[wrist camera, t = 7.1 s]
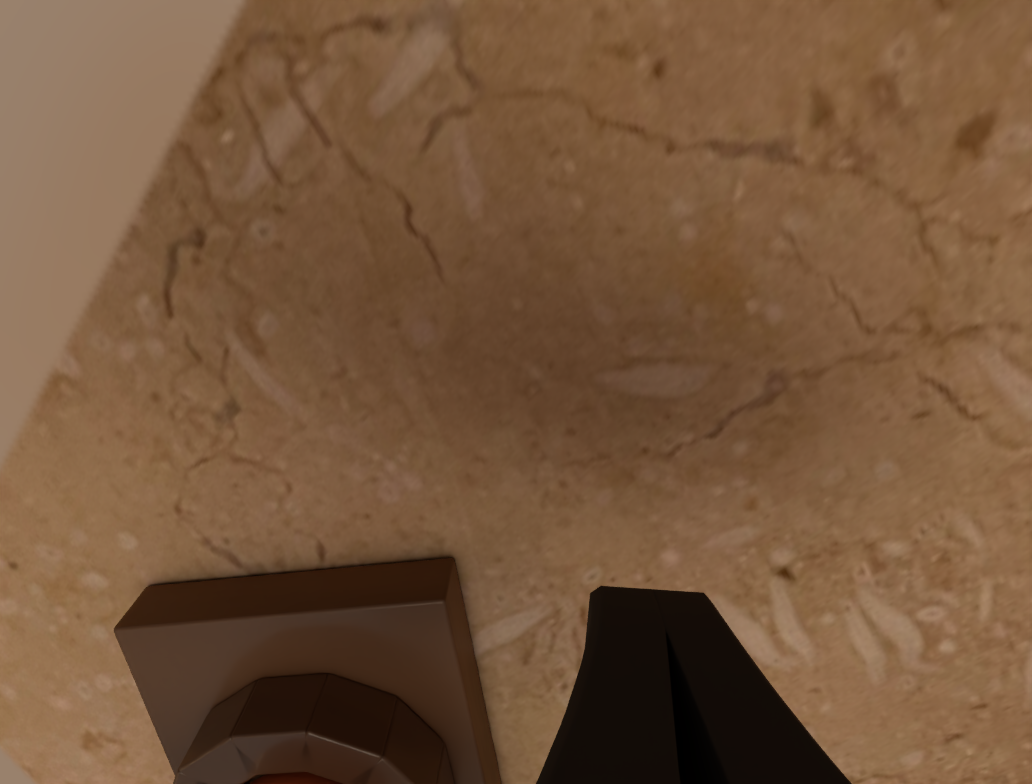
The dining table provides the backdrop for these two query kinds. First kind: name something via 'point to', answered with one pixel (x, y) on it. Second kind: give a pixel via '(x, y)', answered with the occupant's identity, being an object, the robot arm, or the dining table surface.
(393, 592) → the button block
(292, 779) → the button
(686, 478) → the dining table surface
